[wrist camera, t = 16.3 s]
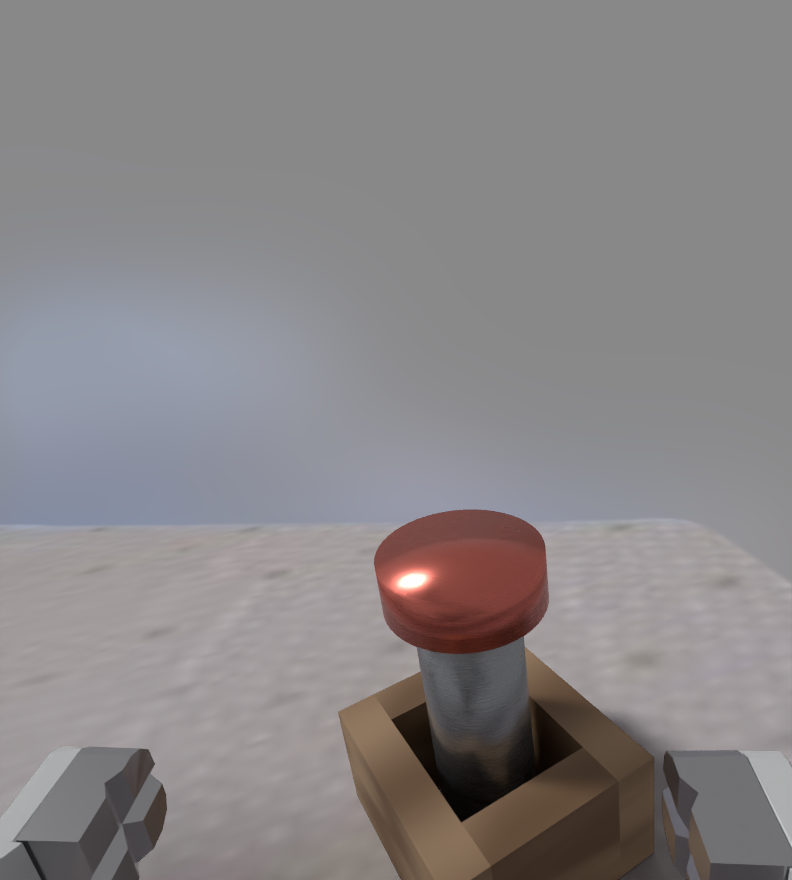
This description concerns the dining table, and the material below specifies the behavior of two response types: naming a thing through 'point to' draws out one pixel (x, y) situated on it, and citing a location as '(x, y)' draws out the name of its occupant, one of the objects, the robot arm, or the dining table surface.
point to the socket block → (516, 814)
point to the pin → (470, 642)
